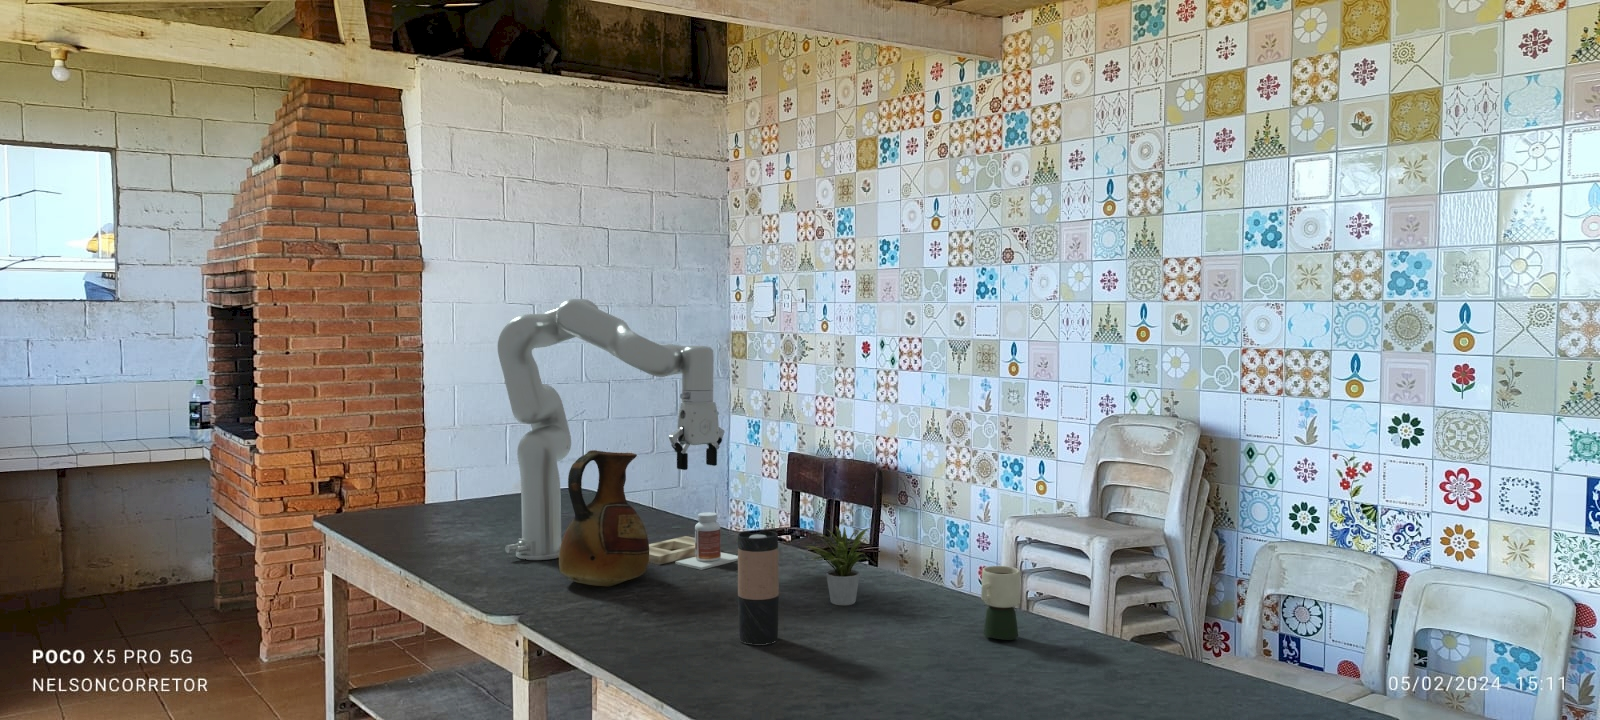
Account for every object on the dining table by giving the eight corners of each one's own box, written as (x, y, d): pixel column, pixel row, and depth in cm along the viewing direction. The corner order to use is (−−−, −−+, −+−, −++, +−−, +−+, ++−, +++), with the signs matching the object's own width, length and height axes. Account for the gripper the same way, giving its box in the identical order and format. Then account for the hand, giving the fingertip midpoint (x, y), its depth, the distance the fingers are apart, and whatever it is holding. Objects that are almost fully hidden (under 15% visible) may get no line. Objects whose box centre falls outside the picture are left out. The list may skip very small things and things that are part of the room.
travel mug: (764, 648, 206) (763, 540, 205) (730, 642, 210) (729, 535, 209) (786, 638, 212) (786, 532, 211) (753, 631, 217) (752, 528, 215)
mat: (701, 569, 266) (701, 567, 266) (675, 563, 272) (675, 561, 272) (742, 559, 276) (742, 556, 276) (716, 553, 282) (716, 551, 282)
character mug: (1004, 628, 218) (1004, 562, 217) (1034, 636, 212) (1034, 568, 212) (967, 640, 211) (967, 571, 210) (997, 649, 205) (997, 578, 205)
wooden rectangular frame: (659, 564, 271) (658, 556, 271) (626, 557, 279) (626, 549, 279) (718, 550, 286) (718, 542, 286) (685, 543, 294) (685, 536, 294)
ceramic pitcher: (667, 581, 255) (665, 449, 254) (594, 598, 241) (592, 459, 239) (613, 567, 269) (611, 442, 267) (541, 583, 254) (539, 450, 252)
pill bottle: (726, 559, 274) (725, 513, 273) (706, 563, 269) (705, 517, 269) (709, 555, 278) (709, 510, 278) (690, 559, 274) (689, 513, 273)
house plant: (844, 588, 249) (844, 514, 248) (892, 599, 239) (892, 523, 238) (798, 600, 239) (797, 523, 238) (845, 613, 229) (845, 533, 228)
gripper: (681, 400, 265) (681, 472, 266) (733, 396, 278) (733, 465, 279) (660, 398, 270) (659, 469, 271) (712, 393, 283) (712, 461, 284)
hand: (697, 467), depth 275 cm, fingers open, 9 cm apart
